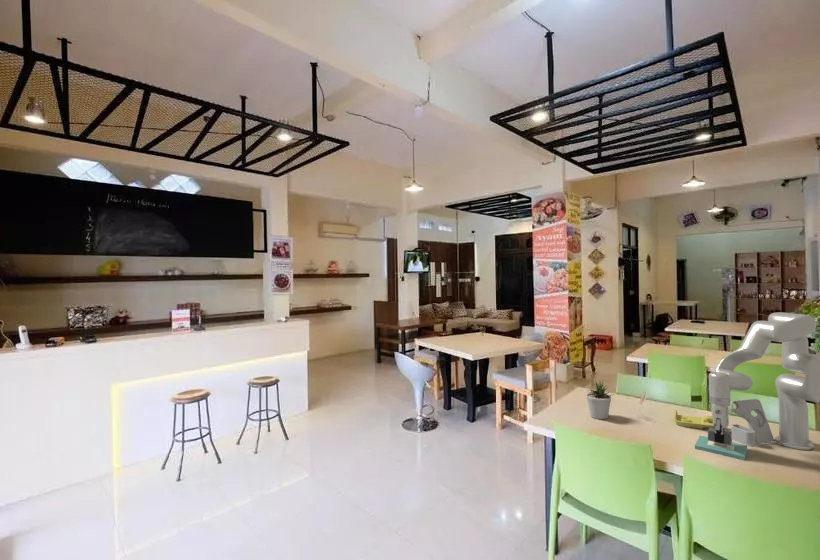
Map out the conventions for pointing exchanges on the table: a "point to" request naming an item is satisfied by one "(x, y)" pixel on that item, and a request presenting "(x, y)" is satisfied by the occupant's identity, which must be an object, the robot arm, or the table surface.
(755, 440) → the phone holder
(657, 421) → the table surface
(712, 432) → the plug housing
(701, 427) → the plastic component
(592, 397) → the potted plant
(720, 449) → the board
